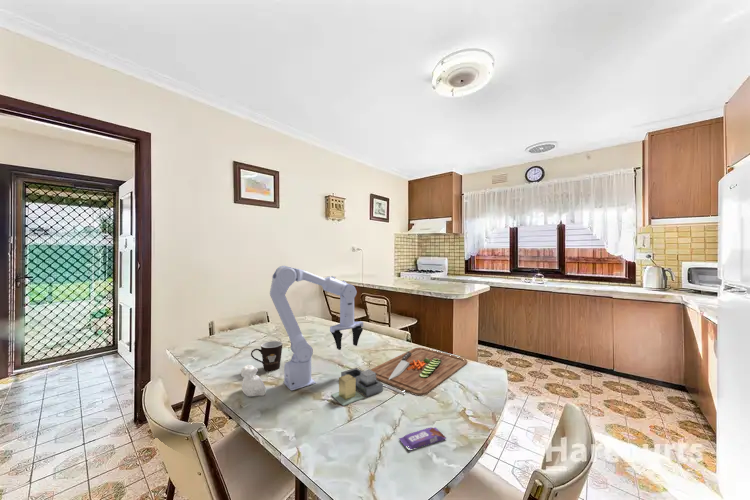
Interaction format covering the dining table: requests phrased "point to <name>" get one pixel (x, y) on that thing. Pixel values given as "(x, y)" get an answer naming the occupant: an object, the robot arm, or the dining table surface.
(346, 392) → the tan wooden block
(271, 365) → the coffee mug
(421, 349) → the chopping board
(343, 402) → the mat
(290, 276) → the robot arm
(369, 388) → the gray slotted board
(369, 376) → the gray metal block
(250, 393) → the bust
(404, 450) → the dining table surface
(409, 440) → the snack package
